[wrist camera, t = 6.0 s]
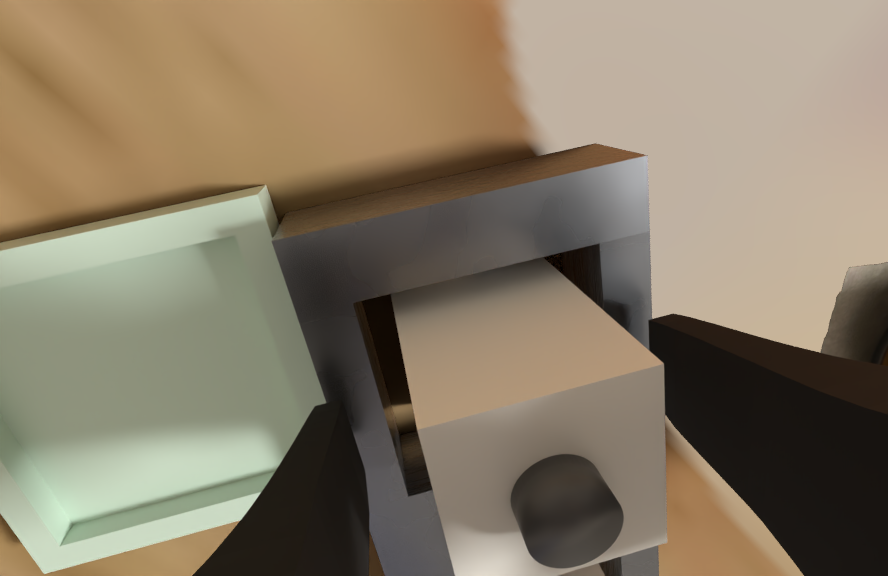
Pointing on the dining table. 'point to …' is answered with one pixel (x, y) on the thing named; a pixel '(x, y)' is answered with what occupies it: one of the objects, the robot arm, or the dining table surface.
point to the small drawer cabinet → (447, 257)
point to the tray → (146, 376)
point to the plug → (534, 422)
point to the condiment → (861, 316)
